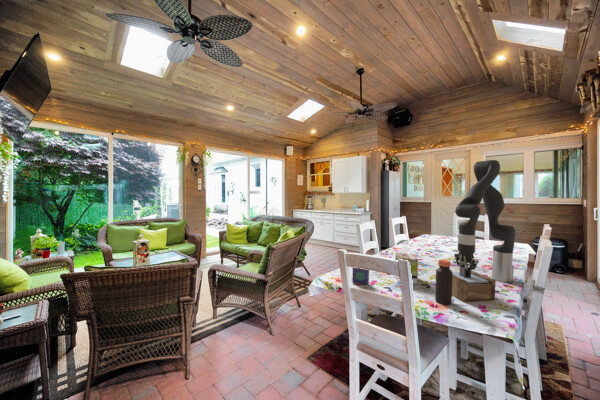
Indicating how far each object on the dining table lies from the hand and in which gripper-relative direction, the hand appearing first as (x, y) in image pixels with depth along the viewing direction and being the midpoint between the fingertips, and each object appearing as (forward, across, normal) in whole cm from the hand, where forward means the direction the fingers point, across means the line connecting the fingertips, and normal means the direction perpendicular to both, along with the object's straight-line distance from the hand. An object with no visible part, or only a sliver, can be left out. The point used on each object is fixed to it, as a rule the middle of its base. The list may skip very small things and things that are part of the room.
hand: (465, 275), depth 129 cm
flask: (+10, +18, +50) cm, 54 cm away
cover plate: (+1, 0, 0) cm, 1 cm away
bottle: (+10, -8, +18) cm, 22 cm away
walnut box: (+9, 0, 0) cm, 9 cm away
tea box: (+10, +22, +20) cm, 31 cm away
